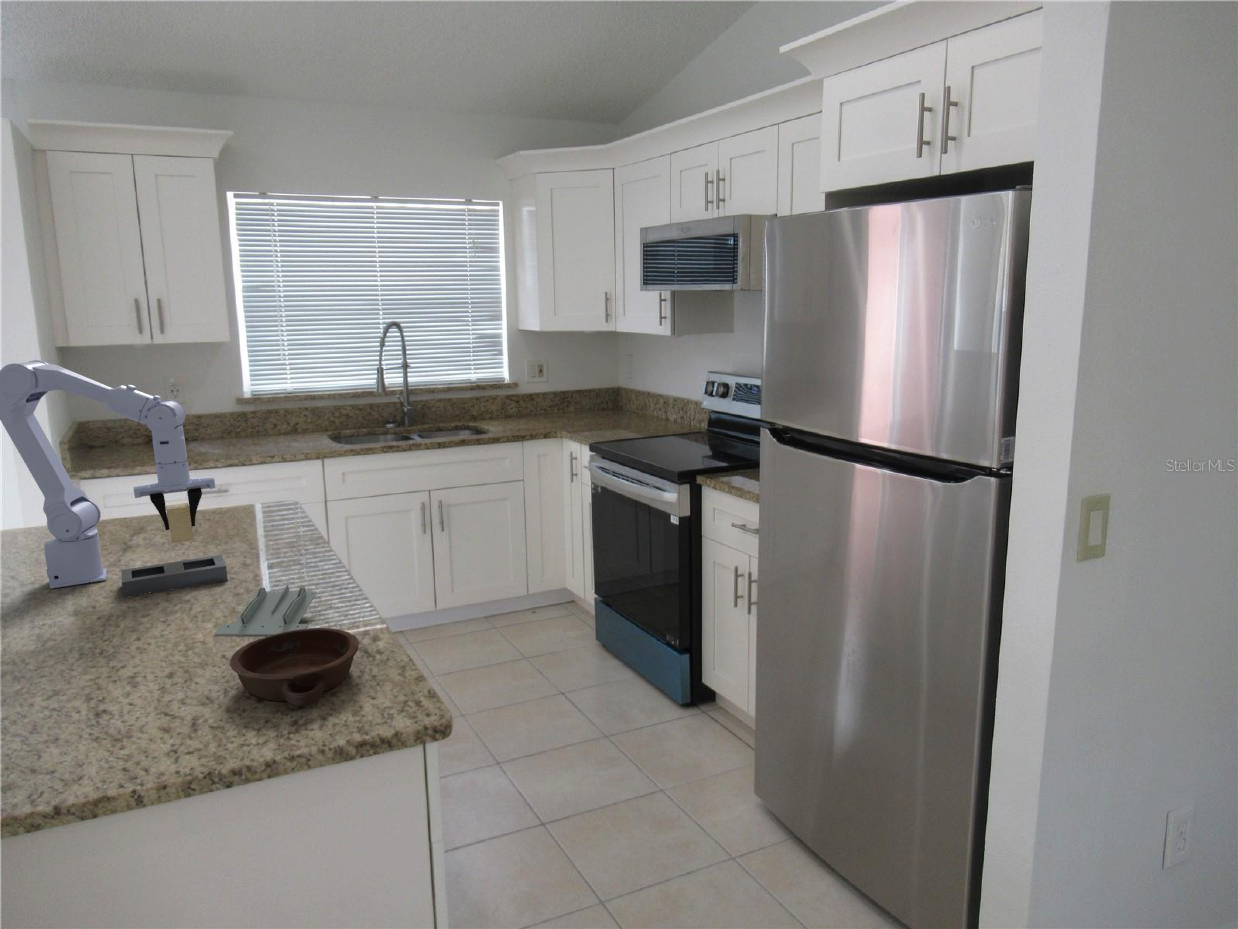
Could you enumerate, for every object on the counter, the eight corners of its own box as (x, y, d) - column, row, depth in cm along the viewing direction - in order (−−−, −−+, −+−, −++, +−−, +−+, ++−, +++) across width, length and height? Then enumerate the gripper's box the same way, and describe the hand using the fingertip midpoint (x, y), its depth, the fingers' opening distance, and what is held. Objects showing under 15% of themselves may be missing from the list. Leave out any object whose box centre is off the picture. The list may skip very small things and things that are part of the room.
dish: (343, 643, 139) (341, 614, 138) (378, 696, 121) (375, 662, 120) (226, 668, 131) (222, 637, 130) (243, 729, 112) (239, 693, 111)
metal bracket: (245, 580, 154) (327, 580, 153) (253, 606, 157) (334, 606, 156) (207, 631, 141) (296, 631, 140) (216, 659, 144) (304, 659, 143)
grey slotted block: (123, 597, 163) (121, 582, 162) (123, 584, 170) (121, 569, 170) (227, 580, 171) (226, 566, 171) (223, 568, 179) (221, 554, 178)
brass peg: (171, 543, 173) (166, 509, 172) (170, 538, 177) (165, 505, 176) (193, 540, 175) (189, 506, 174) (191, 535, 179) (187, 502, 177)
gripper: (130, 469, 166) (140, 537, 169) (213, 460, 173) (221, 525, 176) (129, 463, 172) (139, 529, 175) (209, 455, 179) (217, 518, 182)
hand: (180, 527), depth 175 cm, fingers closed on brass peg, 4 cm apart
